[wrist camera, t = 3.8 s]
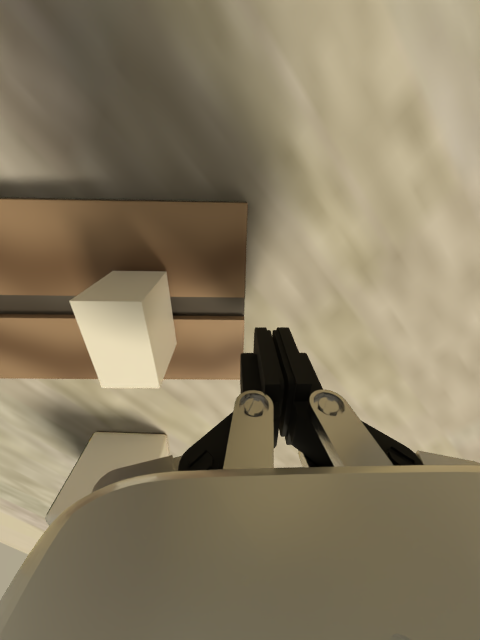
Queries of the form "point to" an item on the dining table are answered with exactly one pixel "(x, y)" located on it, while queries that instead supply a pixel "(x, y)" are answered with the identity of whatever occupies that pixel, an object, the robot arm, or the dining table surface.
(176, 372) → the fader board
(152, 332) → the fader tab
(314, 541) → the robot arm
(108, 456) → the medicine bottle
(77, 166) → the dining table surface
